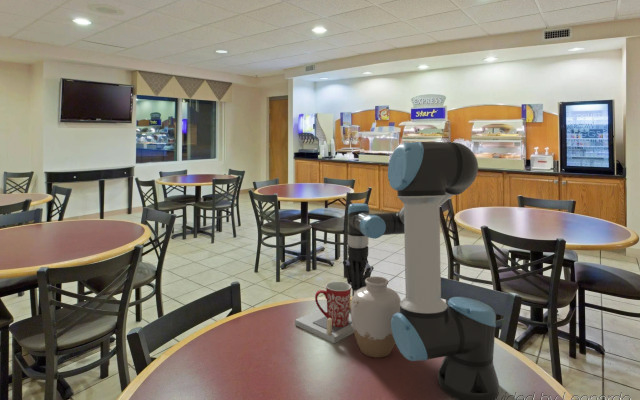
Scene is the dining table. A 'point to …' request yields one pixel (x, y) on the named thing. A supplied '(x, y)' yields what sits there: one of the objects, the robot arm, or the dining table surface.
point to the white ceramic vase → (374, 317)
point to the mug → (336, 302)
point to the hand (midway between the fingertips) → (357, 306)
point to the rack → (324, 326)
